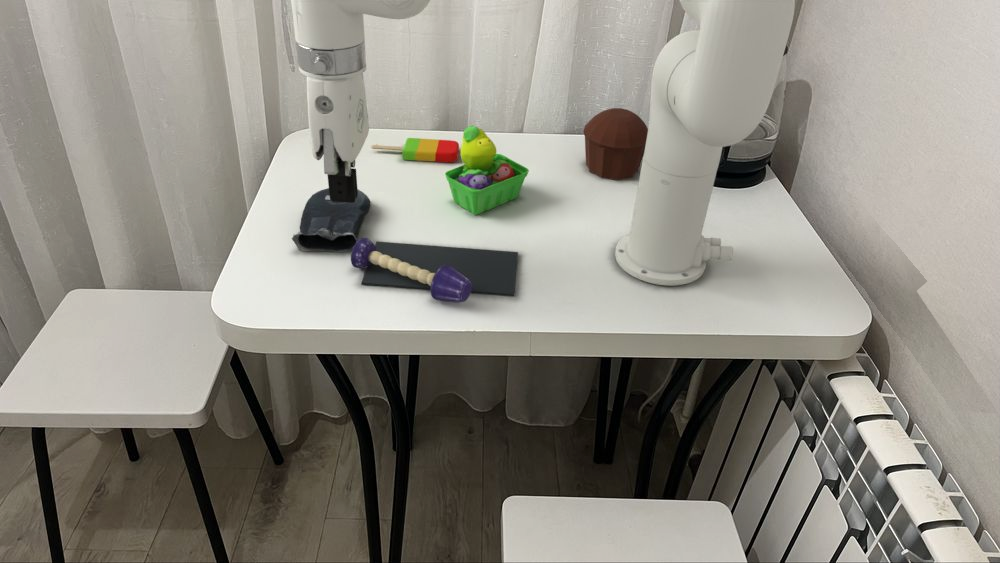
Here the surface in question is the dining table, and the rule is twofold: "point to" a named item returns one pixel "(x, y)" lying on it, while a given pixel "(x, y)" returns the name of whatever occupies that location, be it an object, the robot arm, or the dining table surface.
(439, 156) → the popsicle
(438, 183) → the dining table surface
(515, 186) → the fruit basket
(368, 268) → the mat
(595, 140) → the muffin
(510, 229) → the dining table surface
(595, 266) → the dining table surface
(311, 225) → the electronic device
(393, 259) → the toy lamp
